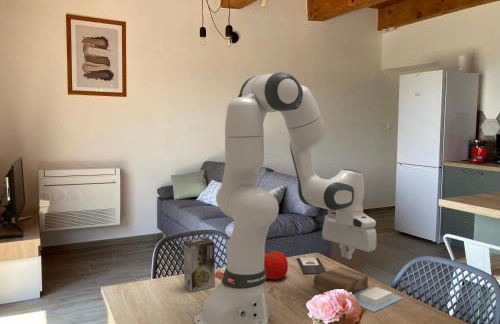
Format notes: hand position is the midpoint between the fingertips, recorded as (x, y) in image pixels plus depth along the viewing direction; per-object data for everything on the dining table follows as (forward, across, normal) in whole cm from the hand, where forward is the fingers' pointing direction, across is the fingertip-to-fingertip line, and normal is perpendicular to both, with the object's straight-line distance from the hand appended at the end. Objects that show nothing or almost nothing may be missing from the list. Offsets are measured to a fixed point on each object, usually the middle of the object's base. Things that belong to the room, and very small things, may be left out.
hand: (346, 258), depth 142 cm
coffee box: (+13, -34, -37) cm, 52 cm away
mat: (+11, +10, +1) cm, 15 cm away
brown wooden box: (+11, -3, +1) cm, 12 cm away
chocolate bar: (+12, -24, +9) cm, 28 cm away
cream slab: (+9, +11, +1) cm, 14 cm away
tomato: (+12, -25, -11) cm, 30 cm away
